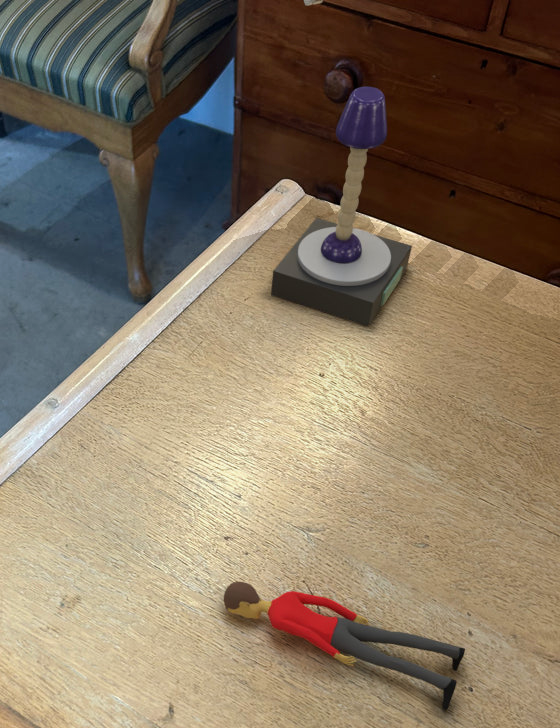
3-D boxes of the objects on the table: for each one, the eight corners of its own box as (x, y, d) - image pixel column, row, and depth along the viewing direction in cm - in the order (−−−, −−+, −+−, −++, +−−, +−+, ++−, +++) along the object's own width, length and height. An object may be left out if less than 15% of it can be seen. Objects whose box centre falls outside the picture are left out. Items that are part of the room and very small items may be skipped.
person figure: (450, 678, 68) (228, 604, 72) (466, 636, 66) (237, 563, 71) (445, 717, 64) (209, 635, 68) (462, 673, 62) (218, 592, 66)
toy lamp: (372, 259, 92) (404, 97, 79) (334, 272, 91) (360, 110, 78) (346, 235, 95) (374, 75, 81) (309, 247, 93) (330, 86, 80)
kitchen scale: (408, 270, 97) (415, 241, 94) (370, 327, 91) (376, 298, 88) (313, 241, 100) (317, 212, 97) (270, 294, 94) (273, 265, 92)
